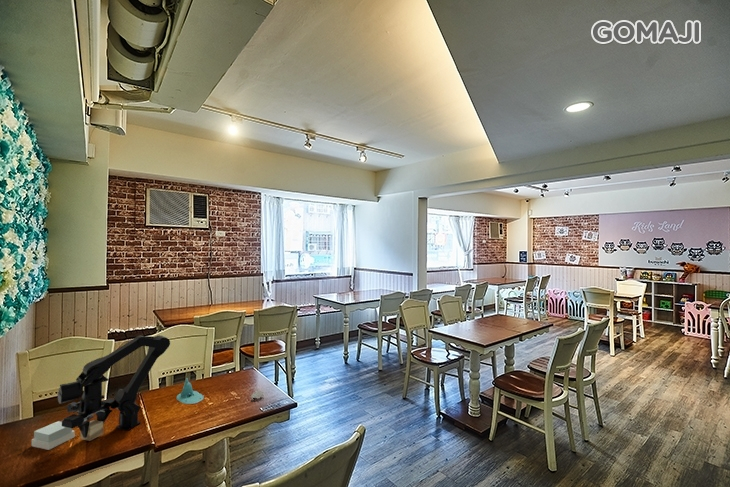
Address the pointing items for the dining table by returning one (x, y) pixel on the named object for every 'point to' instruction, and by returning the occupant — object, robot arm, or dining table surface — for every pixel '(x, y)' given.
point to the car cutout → (257, 394)
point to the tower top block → (51, 432)
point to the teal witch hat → (189, 394)
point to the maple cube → (94, 430)
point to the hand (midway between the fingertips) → (91, 433)
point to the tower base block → (53, 443)
